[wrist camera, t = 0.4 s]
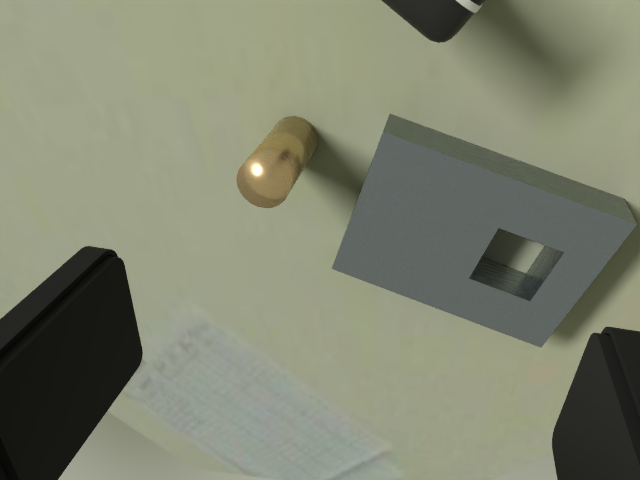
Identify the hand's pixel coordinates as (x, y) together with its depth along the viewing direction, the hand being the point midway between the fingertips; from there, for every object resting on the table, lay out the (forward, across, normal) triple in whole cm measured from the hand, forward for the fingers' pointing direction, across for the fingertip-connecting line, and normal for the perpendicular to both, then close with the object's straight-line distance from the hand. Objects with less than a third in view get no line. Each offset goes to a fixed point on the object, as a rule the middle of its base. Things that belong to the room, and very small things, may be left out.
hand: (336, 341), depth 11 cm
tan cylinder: (+35, +10, +10) cm, 37 cm away
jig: (+35, -6, +16) cm, 38 cm away
